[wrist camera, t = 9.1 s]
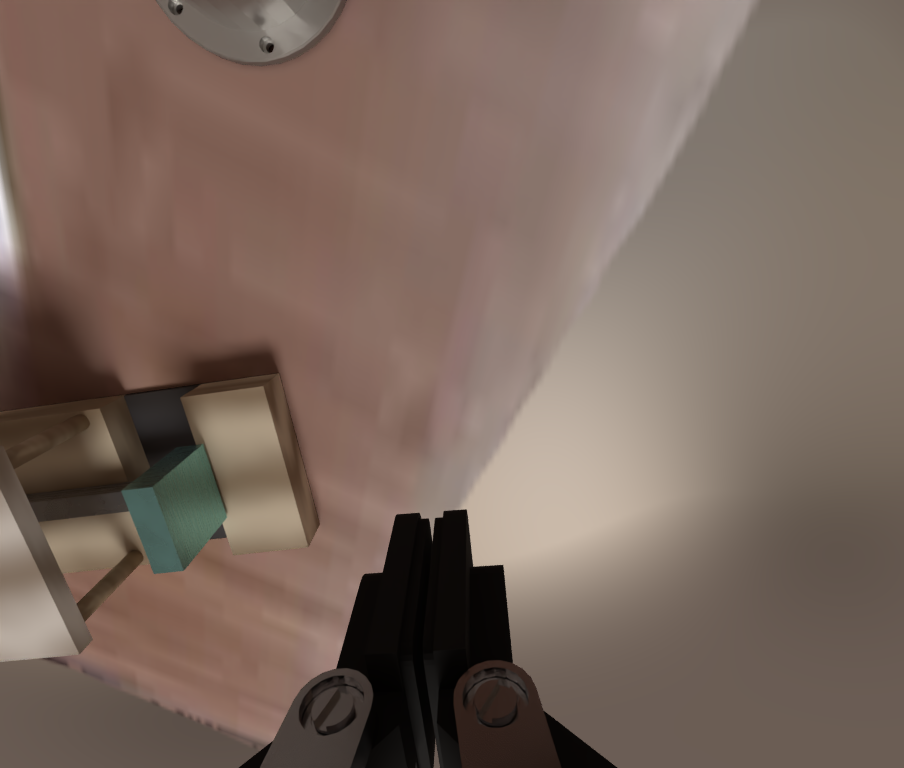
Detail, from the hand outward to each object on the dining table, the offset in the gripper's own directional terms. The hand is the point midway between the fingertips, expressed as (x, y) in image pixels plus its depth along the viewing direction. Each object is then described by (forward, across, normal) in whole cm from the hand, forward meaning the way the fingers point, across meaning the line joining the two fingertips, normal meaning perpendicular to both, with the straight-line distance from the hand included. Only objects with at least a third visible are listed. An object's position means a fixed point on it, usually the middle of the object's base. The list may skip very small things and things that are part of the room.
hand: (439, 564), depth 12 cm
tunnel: (+26, +32, +10) cm, 42 cm away
